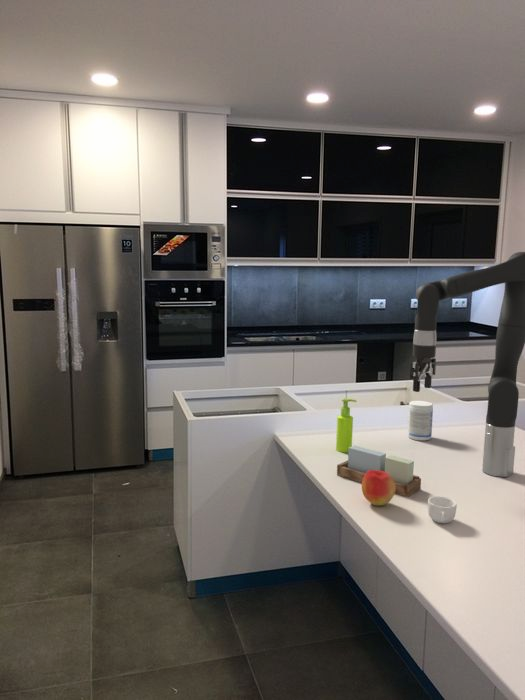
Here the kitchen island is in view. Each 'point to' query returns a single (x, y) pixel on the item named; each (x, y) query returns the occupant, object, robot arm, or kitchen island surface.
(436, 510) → the teacup
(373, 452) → the blue-grey rectangular block
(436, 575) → the kitchen island surface
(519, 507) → the kitchen island surface
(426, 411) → the supplement tub
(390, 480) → the apple
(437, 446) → the kitchen island surface
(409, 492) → the wooden tray
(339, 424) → the soap dispenser
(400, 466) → the seated panel
